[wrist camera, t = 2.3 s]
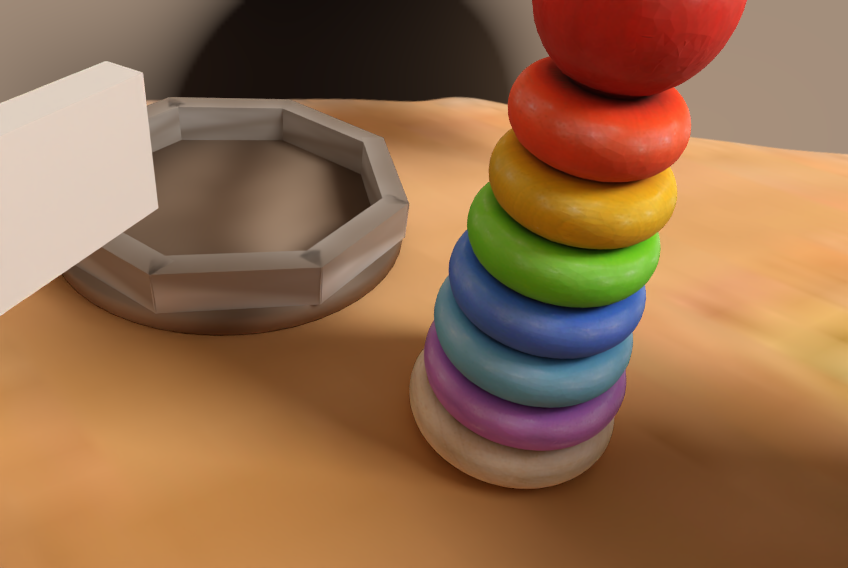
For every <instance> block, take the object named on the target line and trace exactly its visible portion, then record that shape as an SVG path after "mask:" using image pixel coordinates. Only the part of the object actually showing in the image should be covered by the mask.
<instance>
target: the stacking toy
mask: <svg viewBox="0 0 848 568" xmlns="http://www.w3.org/2000/svg"><path fill="white" fill-rule="evenodd" d="M746 1H747V0H532V4H533V14H534V21H535V24H536V28H537V32H538V34H539V36H540V39H541V41H542V44H543V46H544V47H545V49H546V51H547V53H548V54H549V56H550V57H546V58H543V59H541V60H538V61H536V62H534V63H533V64H531V65H530V66H529V67H527V68H526V69H525V70H524V71H522V73H521V74H520V75H519V76H518V78H517V79H516V81H515V83H514V84H513V86H512V88H511V91H510V94H509V99H508V116H509V120H510V124H511V126H512V129H510V130H509V131H508V132H507V133H506V134H505V135H504V136H503V137H501V139H500V140H499V141H498V143H497V144H496V146H495V148H494V150H493V152H492V155H491V159H490V164H489V181H490V182H488V183H487V184H486V185H485V186H484V187H483V188H482V189H481V190H480V191H479V192H478V194H477V195H476V196H475V198H474V200H473V202H472V204H471V207H470V210H469V214H468V220H467V230H466V231H465V232H464V233H463V235H462V236H461V237H460V238H459V240H458V241H457V243H456V245H455V247H454V249H453V252H452V254H451V258H450V262H449V276H448V277H447V278H446V279H445V281H444V282H443V284H442V286H441V288H440V290H439V292H438V295H437V298H436V303H435V308H434V321H433V323H432V325H431V326H430V328H429V331H428V334H427V337H426V341H425V347H424V349H423V350H422V352H421V353H420V354H419V356H418V358H417V360H416V362H415V365H414V367H413V370H412V373H411V378H410V385H409V396H410V405H411V409H412V412H413V416H414V418H415V421H416V424H417V426H418V427H419V429H420V431H421V433H422V435H423V436H424V437H425V439H426V440H427V442H428V443H429V444H430V445H431V446H432V448H433V449H434V450H435V451H436V452H437V453H438V454H439V455H440V456H442V457H443V458H444V459H445V460H446V461H448V462H449V463H450V464H451V465H453V466H454V467H456V468H457V469H459V470H461V471H462V472H464V473H466V474H468V475H470V476H472V477H474V478H476V479H479V480H481V481H484V482H487V483H491V484H495V485H499V486H503V487H509V488H517V489H534V488H543V487H550V486H554V485H558V484H561V483H563V482H566V481H569V480H571V479H573V478H575V477H577V476H578V475H580V474H582V473H583V472H585V471H586V470H587V469H589V468H590V467H591V466H592V465H593V464H594V463H595V462H596V461H597V460H598V459H599V458H600V456H601V455H602V454H603V452H604V451H605V449H606V447H607V446H608V443H609V441H610V438H611V435H612V432H613V427H614V416H615V415H616V413H617V412H618V410H619V408H620V406H621V403H622V401H623V398H624V395H625V390H626V370H625V369H626V367H627V365H628V363H629V360H630V357H631V353H632V347H633V334H632V332H633V331H634V330H635V328H636V326H637V325H638V323H639V321H640V319H641V317H642V314H643V311H644V307H645V301H646V290H645V284H646V283H647V282H648V280H649V279H650V277H651V276H652V274H653V273H654V271H655V269H656V267H657V264H658V260H659V257H660V238H659V234H658V231H660V230H661V229H662V228H663V227H664V226H665V224H666V223H667V222H668V221H669V219H670V217H671V216H672V213H673V211H674V208H675V205H676V201H677V186H676V181H675V177H674V175H673V172H672V170H671V168H670V166H671V165H672V164H674V163H675V162H676V161H677V160H678V158H679V157H680V156H681V154H682V153H683V151H684V150H685V148H686V146H687V144H688V141H689V138H690V131H691V118H690V113H689V110H688V107H687V105H686V103H685V101H684V99H683V97H682V96H681V95H680V94H679V93H678V91H677V90H676V89H675V88H674V87H676V86H678V85H680V84H682V83H683V82H685V81H687V80H688V79H690V78H691V77H693V76H694V75H696V74H697V73H698V72H700V71H701V70H702V69H703V68H705V67H706V66H707V65H708V64H709V63H710V62H711V61H712V60H713V59H714V58H715V57H716V56H717V55H718V54H719V52H720V51H721V50H722V49H723V48H724V46H725V44H726V43H727V41H728V40H729V38H730V37H731V35H732V33H733V32H734V30H735V29H736V26H737V25H738V22H739V20H740V18H741V15H742V13H743V11H744V8H745V4H746Z"/></svg>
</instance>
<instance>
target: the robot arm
mask: <svg viewBox="0 0 848 568" xmlns="http://www.w3.org/2000/svg"><path fill="white" fill-rule="evenodd" d="M156 209H158V201H157V192H156V183H155V174H154V166H153V157H152V148H151V140H150V131H149V122H148V113H147V105H146V96H145V88H144V79H143V73H142V72H139V71H136V70H133V69H130V68H126V67H123V66H120V65H117V64H114V63H110V62H108V61H105V62H102V63H100V64H97V65H95V66H93V67H90V68H87V69H85V70H82V71H80V72H77V73H75V74H72V75H70V76H67V77H65V78H62V79H60V80H58V81H55V82H52V83H50V84H47V85H45V86H42V87H40V88H37V89H35V90H32V91H30V92H27V93H25V94H22V95H20V96H17V97H15V98H12V99H10V100H8V101H5V102H2V103H0V316H1V315H2V314H4V313H5V312H7V311H8V310H9V309H11V308H12V307H14V306H15V305H17V304H18V303H20V302H21V301H23V300H24V299H26V298H27V297H29V296H30V295H32V294H33V293H34V292H36V291H37V290H39V289H40V288H42V287H43V286H45V285H46V284H48V283H49V282H51V281H52V280H54V279H55V278H57V277H58V276H59V275H61V274H62V273H64V272H65V271H67V270H68V269H70V268H71V267H73V266H74V265H76V264H77V263H79V262H80V261H81V260H83V259H84V258H86V257H87V256H89V255H90V254H92V253H93V252H95V251H96V250H98V249H99V248H101V247H102V246H104V245H105V244H106V243H108V242H109V241H111V240H112V239H114V238H115V237H117V236H118V235H120V234H121V233H123V232H124V231H126V230H127V229H128V228H130V227H131V226H133V225H134V224H136V223H137V222H139V221H140V220H142V219H143V218H145V217H146V216H148V215H149V214H151V213H152V212H153V211H155V210H156Z"/></svg>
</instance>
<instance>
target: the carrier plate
mask: <svg viewBox="0 0 848 568" xmlns="http://www.w3.org/2000/svg"><path fill="white" fill-rule="evenodd" d="M147 113H148V122H149V131H150V140H151V148H152V157H153V166H154V174H155V183H156V192H157V201H158V209H156V210H155V211H153V212H152V213H151V214H149V215H148V216H146V217H145V218H143V219H142V220H140V221H139V222H137V223H136V224H134V225H133V226H131V227H130V228H128V229H127V230H126V231H124V232H123V233H121V234H120V235H118V236H117V237H115V238H114V239H112V240H111V241H109V242H108V243H106V244H105V245H104V246H102V247H101V248H99V249H98V250H96V251H95V252H93V253H92V254H90V255H89V256H87V257H86V258H84V259H83V260H81V261H80V262H79V263H77V264H76V265H74V266H73V267H71V268H70V269H68V270H67V271H65V272H64V273H62V275H63V276H64V278H65V280H66V281H67V282H68V283H69V284H70V285H71V286H72V287H73V288H74V289H75V290H76V291H77V292H78V293H79V294H81V295H82V296H84V297H85V298H86V299H88V300H89V301H90V302H92V303H93V304H95V305H97V306H99V307H100V308H102V309H104V310H106V311H108V312H110V313H112V314H114V315H116V316H119V317H122V318H124V319H127V320H130V321H132V322H135V323H138V324H142V325H146V326H150V327H154V328H158V329H162V330H169V331H175V332H181V333H189V334H204V335H243V334H252V333H261V332H270V331H275V330H279V329H284V328H289V327H294V326H298V325H301V324H305V323H308V322H311V321H315V320H318V319H320V318H323V317H325V316H328V315H330V314H332V313H335V312H337V311H340V310H341V309H343V308H345V307H347V306H349V305H351V304H352V303H354V302H356V301H358V300H359V299H360V298H362V297H363V296H365V295H366V294H367V293H369V292H370V291H371V290H373V289H374V288H375V287H376V286H377V285H378V284H379V283H380V282H381V281H382V280H383V279H384V278H385V277H386V275H387V274H388V273H389V271H390V270H391V268H392V267H393V266H394V264H395V261H396V259H397V257H398V255H399V252H400V247H401V243H402V239H403V238H405V232H406V225H407V217H408V209H409V202H408V200H407V197H406V194H405V192H404V189H403V187H402V184H401V182H400V179H399V176H398V174H397V171H396V169H395V166H394V164H393V161H392V158H391V156H390V153H389V151H388V148H387V146H386V143H385V140H384V138H383V137H380V136H378V135H375V134H373V133H370V132H368V131H366V130H363V129H361V128H358V127H356V126H353V125H351V124H349V123H346V122H344V121H341V120H339V119H336V118H334V117H331V116H329V115H327V114H324V113H322V112H319V111H317V110H314V109H312V108H309V107H307V106H305V105H302V104H300V103H297V102H295V101H292V100H290V99H289V100H288V99H233V98H232V99H231V98H181V97H180V98H179V97H169V98H166V99H164V100H161V101H158V102H155V103H153V104H150V105H147Z"/></svg>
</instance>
